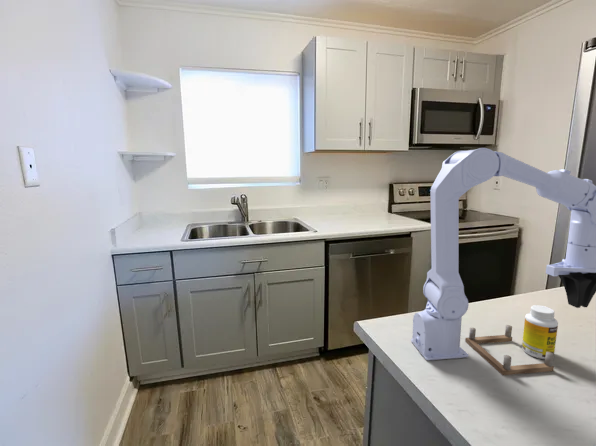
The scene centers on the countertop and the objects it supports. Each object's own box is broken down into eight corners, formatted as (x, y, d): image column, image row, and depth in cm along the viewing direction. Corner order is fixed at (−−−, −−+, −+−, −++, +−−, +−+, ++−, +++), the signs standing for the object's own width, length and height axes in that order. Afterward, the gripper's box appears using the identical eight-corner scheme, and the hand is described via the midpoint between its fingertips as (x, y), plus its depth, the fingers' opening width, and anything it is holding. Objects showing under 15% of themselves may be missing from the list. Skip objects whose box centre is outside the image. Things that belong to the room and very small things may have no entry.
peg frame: (502, 375, 60) (504, 359, 60) (465, 341, 72) (466, 327, 71) (553, 371, 61) (555, 355, 60) (508, 338, 73) (509, 324, 72)
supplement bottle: (547, 363, 63) (553, 317, 61) (517, 351, 68) (521, 307, 66) (558, 354, 66) (563, 310, 64) (528, 342, 71) (532, 301, 69)
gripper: (598, 237, 68) (590, 295, 70) (536, 241, 67) (530, 299, 69) (635, 245, 61) (624, 309, 63) (566, 249, 60) (558, 314, 62)
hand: (577, 305), depth 66 cm, fingers closed
